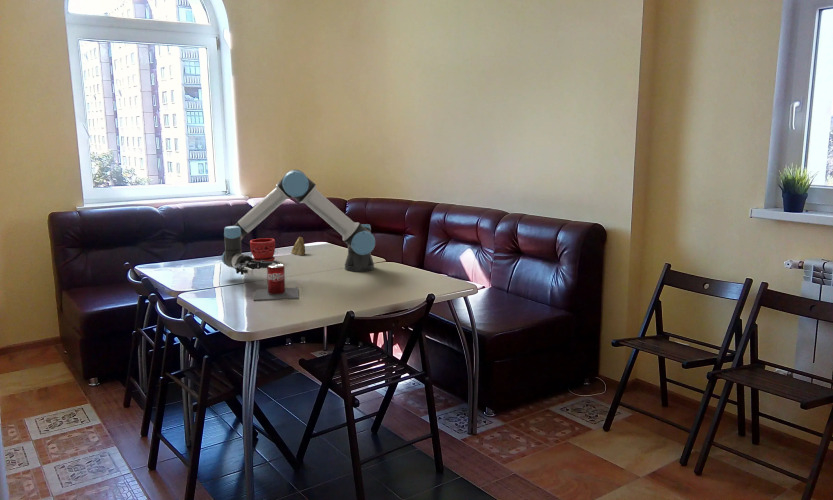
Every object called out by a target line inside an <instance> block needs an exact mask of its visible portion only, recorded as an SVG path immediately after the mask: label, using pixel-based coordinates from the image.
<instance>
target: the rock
mask: <svg viewBox="0 0 833 500" xmlns="http://www.w3.org/2000/svg"><path fill="white" fill-rule="evenodd" d="M305 246H306V245H305V242H304V238H303V237H301V236H298V237H297V240H296V241H295V243H294V245H293V247H292V248H291V252H290V253H291V254H293V255H296V256H297V255H299V256H305V255H306V247H305Z"/></svg>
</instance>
